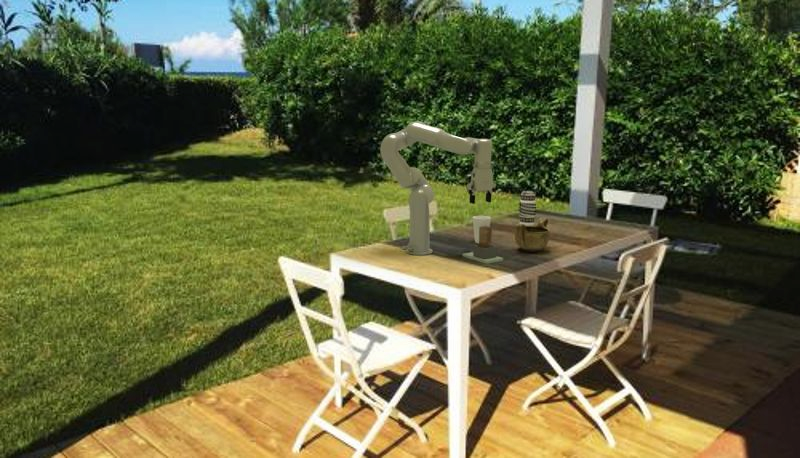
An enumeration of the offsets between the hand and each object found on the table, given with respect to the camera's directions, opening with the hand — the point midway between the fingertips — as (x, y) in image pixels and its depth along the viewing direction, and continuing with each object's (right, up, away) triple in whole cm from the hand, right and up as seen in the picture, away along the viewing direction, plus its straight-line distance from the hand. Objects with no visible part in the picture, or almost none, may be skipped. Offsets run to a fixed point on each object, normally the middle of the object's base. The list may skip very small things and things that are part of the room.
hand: (480, 202), depth 309 cm
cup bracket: (+1, -26, +2) cm, 26 cm away
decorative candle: (+30, -17, +47) cm, 58 cm away
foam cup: (+5, -19, +36) cm, 41 cm away
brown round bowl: (+27, -23, +18) cm, 40 cm away
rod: (+2, -25, +1) cm, 25 cm away
